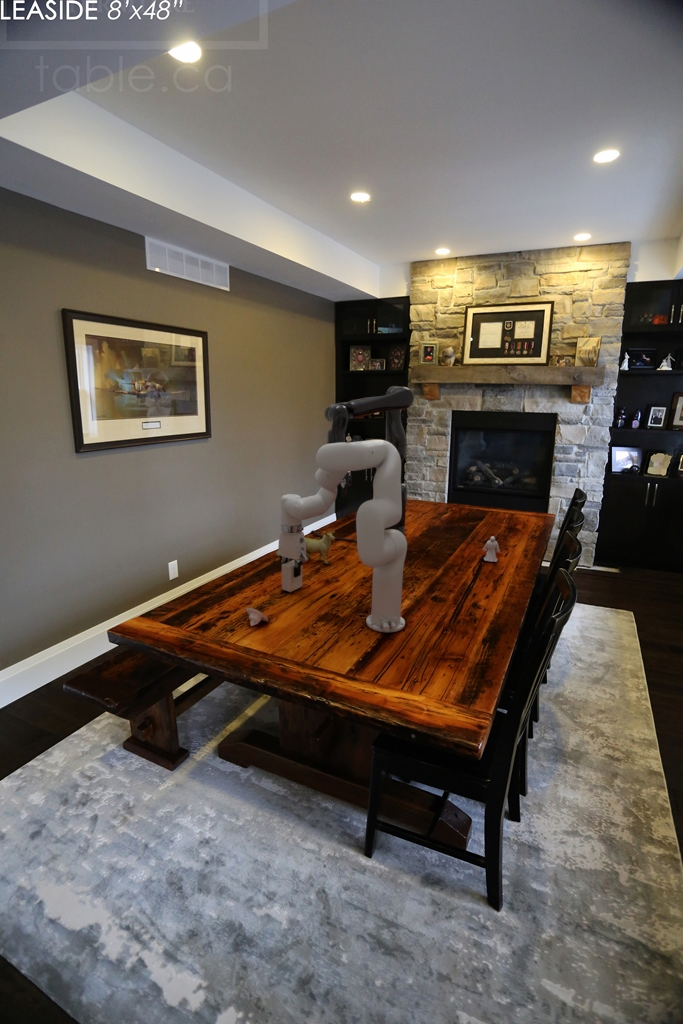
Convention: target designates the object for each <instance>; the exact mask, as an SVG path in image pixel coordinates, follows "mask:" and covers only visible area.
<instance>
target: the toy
mask: <svg viewBox="0 0 683 1024" xmlns="http://www.w3.org/2000/svg"><path fill="white" fill-rule="evenodd" d="M335 533H336V531H335V530H333V531H330V532H324V533H323V537H321V539H314V538H310V537H305V543H306V557H307V559H308V561H310V560H312V557H311V555H310V554H319V555H318V559H317V560H318V561H319V562H322V561H323V562H324V564H325V565H327V566H328V565H329V562H328V561H327V554H328V553H329V551H330V549H331V545H332V541H333V542H334V541H335V540H336V539H335V536H334V535H333V534H335ZM309 553H310V554H309ZM297 561H298V560H297Z"/></svg>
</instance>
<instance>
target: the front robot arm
mask: <svg viewBox="0 0 683 1024" xmlns="http://www.w3.org/2000/svg"><path fill="white" fill-rule="evenodd" d="M315 462H316V466H317V467H318V469H317V470H316V472H315V474H314V479H315V481H316V483H317V484H318V486H319V487H320V488H319V489H318V491H317V493H316V494H314V495H309V496H306V497H302V496H301V495H300V494H295V493H287V494H283V495H282V496H281V498H280V527H281V528H280V530H279V536H278V548H277V550H276V551H275V554H276V556H277V557H278V558H279V560H280V563H281V565H282V564H285V563H287V562H290V559H291V560H294V563H295V567H294V577H295V578H296V577H298V576H300V575H301V566H302V567H303V565H304V564H305V563H306V562H308V561H309V559H308V557H307V556H306V543H305V538H306V537H305V533H304V529H305V528H304V527H303V521H304V520H308V519H311V518H312V519H313V518H315V517H319V516H322V515H324V514H325V513H326V512H328V511H329V509H330V508H331V507H332V505H333V504H334V502H335V501H336V499H337V495H338V486H339V485H340V482H341V480H342V479H343V478H345V475H346V473H347V472H348V471H351V472H356V471H363V470H367V469H373V468H375V469H376V471H375V473H374V476H373V481H372V489H373V495H372V496H373V497H372V499H369V500H366V501H364V502H363V503H362V504H361V505H360V506H359V507H358V510H357V512H356V515H355V530H356V540H357V542H356V547H357V554H358V558H359V560H360V561H361V563H362V564H363V565H364V566H366V567H368V568H373V569H372V585H371V586H372V587H371V607H370V609H371V613H370V615H368V616H367V617H366V621H365V622H366V623H365V624H366V625H367V627H368V628H369V629H372V630H373V631H376V632H379V633H396V632H398V631H402V630H403V629H404V628H405V626H406V620H405V618H403V617H402V615H401V614H402V599H403V598H402V597H403V580H404V567H405V562H406V561H405V560H406V557H407V551H408V541H407V539H406V538H407V537H406V536H404V535H403V534H402V533H401V532H400V531H398V530H394V529H389V530H385V528H388V527H390V526H393V525H395V524H397V523H398V522H399V521H400V520H401V516H402V499H401V483H402V462H401V459H400V455H399V453H398V451H397V449H396V448H395V447H394V446H393V445H392V444H391V443H389V442H387V441H386V440H383V439H368V440H360V441H351V442H346V441H345V442H340V443H332V444H327V443H326V444H323V445H322V446H320V447H319V449H318V450H317V452H316V455H315ZM297 560H298V561H297Z"/></svg>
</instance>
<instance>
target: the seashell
mask: <svg viewBox="0 0 683 1024" xmlns="http://www.w3.org/2000/svg"><path fill="white" fill-rule="evenodd" d="M245 611H246V614H248V615H249V616H248V619H249V625H250V626H251V627H253V626H256V625H258V624H259V623H260V622H261V621H265V622H269V618H268V616H267V615H266V614H264V613H263V612H261V611H260V610H259V609H256V608H253V607H245Z"/></svg>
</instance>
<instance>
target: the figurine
mask: <svg viewBox="0 0 683 1024" xmlns="http://www.w3.org/2000/svg"><path fill="white" fill-rule="evenodd" d="M482 551H483V552H486V554H485V556H484V557H483V560H484V561H485V562H495V563H498V558H497V554H496V553H498V554H499V553H501V550H500V547H499V543H498V541H497V540H496V538H495V536H493V535H492V536H490V539H489V540H487V542H486V543H485V544H484V546H483V548H482Z"/></svg>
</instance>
